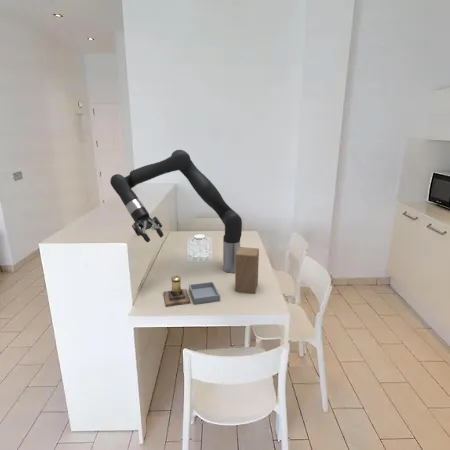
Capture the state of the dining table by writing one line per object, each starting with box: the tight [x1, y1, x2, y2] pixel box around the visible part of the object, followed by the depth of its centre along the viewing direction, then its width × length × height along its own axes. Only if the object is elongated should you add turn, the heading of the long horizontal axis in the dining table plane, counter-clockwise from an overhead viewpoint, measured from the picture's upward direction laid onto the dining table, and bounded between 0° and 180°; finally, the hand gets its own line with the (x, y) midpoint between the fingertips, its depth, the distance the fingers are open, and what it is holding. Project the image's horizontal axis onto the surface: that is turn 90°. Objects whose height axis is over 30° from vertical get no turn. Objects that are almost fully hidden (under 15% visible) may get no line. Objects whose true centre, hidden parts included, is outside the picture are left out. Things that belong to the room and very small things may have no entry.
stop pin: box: [171, 275, 182, 297], centre depth 156 cm, size 4×4×10 cm
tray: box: [188, 281, 221, 305], centre depth 160 cm, size 12×14×3 cm
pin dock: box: [163, 288, 192, 307], centre depth 157 cm, size 11×12×3 cm
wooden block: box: [234, 246, 260, 295], centre depth 164 cm, size 10×10×20 cm
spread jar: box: [193, 233, 206, 240], centre depth 211 cm, size 12×11×12 cm
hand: (155, 238), depth 156 cm, fingers open, 8 cm apart
